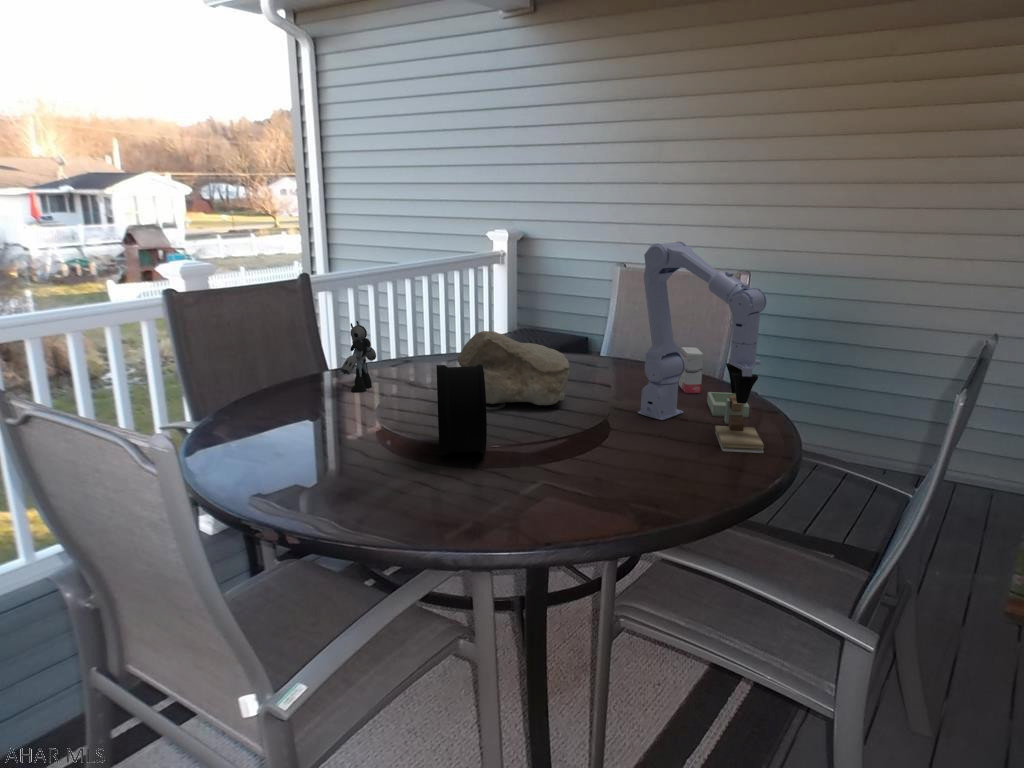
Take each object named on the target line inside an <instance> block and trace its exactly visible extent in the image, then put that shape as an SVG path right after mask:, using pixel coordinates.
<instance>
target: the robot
mask: <svg viewBox="0 0 1024 768" xmlns="http://www.w3.org/2000/svg"><path fill="white" fill-rule="evenodd" d="M350 328H351V330H350V332H349V333H350V336H351V341H352V342H351V346H350V352H353V353H352V355H350V356H348V357H347V358H346V360H345V361H344V362H343V365H342V366H341V372H342V373H343V375H348V376H350V374H351V373H352V372H353V370H355V377H354V381H353V382H354V384H353V386H352V387H351V390H350V391H351V393H355V394H358V393H366V392H367V389H371V388H372V387H373V385H372V378H371V376H370V374H369V372H368V364H367V360H369V361H375V360H376V359H377V352H376V351H375V350H376V349H374V348H373V347H372V343H371V340H370V339H369V338H367V336H368V331H367V329H366V328H365V327H364V325H361V324H360V323H359V320H356V325H353V323H352V322H351V323H350ZM355 367H356V369H355Z"/></svg>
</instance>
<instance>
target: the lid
mask: <svg viewBox="0 0 1024 768" xmlns="http://www.w3.org/2000/svg"><path fill="white" fill-rule="evenodd" d="M715 432H717V434H718V437H719V439H720V442H721V444H722V447H732V448H753V449H756V448H762V449H764V448H765V444H764V443H763V441H762V439H761V437H760V435H759V433H758V432H757V430H756V428H755V427H753V426H745V418H744V417H743V415H730V414H729V424H727V425H715Z"/></svg>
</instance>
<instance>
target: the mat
mask: <svg viewBox="0 0 1024 768" xmlns="http://www.w3.org/2000/svg"><path fill="white" fill-rule="evenodd" d="M715 436H716V439H717V441H718V443H719V446H720V449H721V451H722V452H728V453H729V452H731V453H732V452H735V453H749V454H751V453H753V454H764V453H765V452H764V450H763V448H756V449H753V448H732V447H722V444H721V442H720V439H719V437H718V434H717V432H716V431H715Z"/></svg>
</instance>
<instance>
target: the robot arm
mask: <svg viewBox="0 0 1024 768" xmlns="http://www.w3.org/2000/svg"><path fill="white" fill-rule="evenodd" d="M643 256H644V264H645V267H644V273H643V280H644V290H645V291H644V292H645V297H646V305H647V306H646V308H647V315H648V316H647V317H648V322H649V331H650V332H649V333H650V338H651V339H650V340H651V346H650V347H649V349H648V350H647V351H646V352H645V362H644V363H645V364H644V373H645V376H646V378H647V379H648V381H649V382H648V383H647V384H646V385H645V386H643V388H642V390H641V396H640V397H641V398H640V410H639V411H637V414H638V415H643V416H646V417H649V418H653V419H656V420H659V421H664V420H668V419H670V418H673V417H675V416H678V415H681V414H684V411H683V410H681V409H678V407H677V406H678V391H679V380H680V375H682V374H683V373H684V371H685V361H684V358H683V357H682V354H681V347H680V346H679V345H678V344H676V343H675V342H674V335H673V325H672V317H671V310H670V309H671V308H670V301H669V294H668V285H667V284H668V283H667V281H668V280H669V279H670V278H671V276H672V275H673V274H674V273H676V272H677V271H678V270H680V269H682V268H684V269H686V270H687V271H689V272H690V273H691V274H693V275H695V276H696V277H698V278H699V279H701V280H702V281H704V282H706V283H707V284H708V290H709V291H710V292H711V293H712V294H713V295H715V296H716V297H718V298H719V299H720V300H721V301H723V302H725V303H726V304H728V307H729V309H730V312H731V314H732V318H731V320H732V329H731V341H730V352H729V358H728V362H727V363H725V366H726V367H727V368H726V369H727V371H728V376H729V382H730V391H731V392H730V393H732V394H736V401H737V403H745V404H746V403H748V400H749V397H750V394H751V392H752V389H753V387H754V385H755V384H756V382H757V381H758V379H759V376H758V375H757V374H753V369H754V368H755V367H756V365H761V363H762V361H761V360H760V359H756V358H757V350H758V349H757V348H758V341H759V340H758V338H759V329H760V319H761V312H764V310H765V308H766V306H767V296H766V294H765V293H764V291H762V290H761V289H760V288H758V287H751V288H750V285H749V284H748V283H746V282H742V281H741V280H740V279H738V278H736V276H734V273H733V272H732V271H730V270H729V271H728V270H727V271H726V270H721V271H718V270H716V269H715V268H714V267H712V265H710V263H708V262H707V261H705V259H703V258H702V257H700V256H699V255H698V254H697V253H696V252H695V251H694V250H693V247H692V246H689V245H687V244H686V243H685V242H684V241H675V242H666V243H665V242H664V243H653V244H652V245H651V246H650V247H649V248H648V249H647V251H646V252H645V253H644V254H643Z"/></svg>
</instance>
